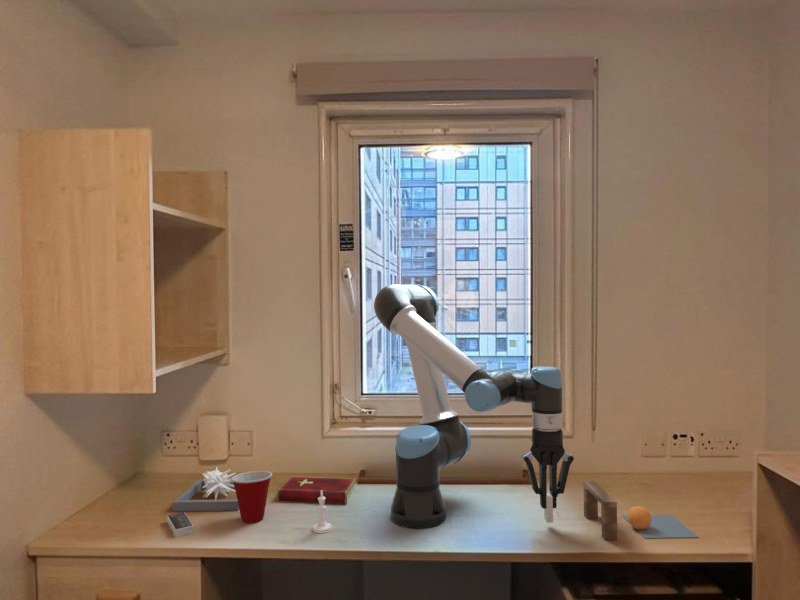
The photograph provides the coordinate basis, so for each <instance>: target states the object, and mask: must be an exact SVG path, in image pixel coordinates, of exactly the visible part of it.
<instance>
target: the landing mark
mask: <svg viewBox="0 0 800 600" xmlns="http://www.w3.org/2000/svg"><path fill="white" fill-rule="evenodd" d="M650 515H651V524H650V526H649V527H648V528H646V529H643V530H640V529H636V528H634V530H636V531H637V532H638V533H639V535H641V536H642V537H643V538H644V539H694V538H695V539H699V538H700V537H699V536H698V535H697V534H696V533H695V532H694V531H692V530H691V529H690V528H689V527H687V526H686V525H685V524H683V523H682V522H681V521H680V520H678V519H677V518H676V517H675V516H673V515H672V514H650ZM622 518H624V519H625V520H626V521H627V522H628V523H629V521H628V514H626V515H622Z"/></svg>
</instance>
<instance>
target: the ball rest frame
mask: <svg viewBox="0 0 800 600" xmlns="http://www.w3.org/2000/svg"><path fill="white" fill-rule="evenodd" d="M229 479H230V478H228V480H229ZM229 483H230V484H232V485H234V483H233V482H229ZM203 486H205V483H204V480H203V479H197V480H196V481H195V482H194V483H193V484H192V485H191V486H189V487H188V489H186V490H185V491H184V492H183V493H182V494H181V495H180V496H178V497H177V498H176V499H175V500H174V501H172V512H199V511H200V512H205V511H206V512H211V511H212V512H213V511H214V512H215V511H218V512H220V511H221V512H222V511H240V510H239V506H238V501H237V496H236V497H235V498H234V499H216V500H215V499H193V498H194V497H195V496H196V495H197V494H198V493H199V492H200V491H201V490H205V489H206V487H205V488H202V487H203ZM227 487H229V488H231V489H233V490H235V487H231V486H227ZM193 496H194V497H193ZM192 497H193V498H192ZM191 498H192V499H191ZM190 499H191V500H190Z"/></svg>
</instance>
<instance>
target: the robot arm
mask: <svg viewBox="0 0 800 600" xmlns="http://www.w3.org/2000/svg"><path fill="white" fill-rule="evenodd" d="M439 307H440V306H439V299H438V296H437V295H436V293H435V292H434V291H433V290H432V289H431V288H429V287H428V286H426V285H425V286H424V285H421V284H417V283H416V284H415V283H413V284H399V283H398V284H397V283H394V284H393V283H392V284H388V285H386V286H384V287H383V288H381V289H380V290H379V291H378V293H377V294H376V295H375V297H374V302H373V310H374V313H375V317H376V318H377V319H378V321H379V322H380V324H381V325H383V327H384V328H385V329H387V330H388V332H390V333H391V334H392V335H395V336H396V335H399V336H400V337H401V338H402V339H404V340H405V343H406V346H407V349H408V355H409V359H410V363H411V369H412V373H413V377H414V381H415V385H416V390H417V394H418V399H419V402H420V403H419V404H420V408H421V411H422V412H421V413H422V418H420V419H421V420H420V421H419V424H417V425H414V426H413V425H412V426H408V427H405V428H402V429H401V430H400V431H399V432H398V434H397V435H396V438H395V446H394V447H395V464H396V465H395V468H396V469H395V471H396V488H395V492H394V496H393V498H392V503H391V505H390V519H391V521H392V522H393V523H395V524H397V525H398V526H400V527H406V528H412V529H423V528H432V527H436V526H438V525H440V524H442V523H444V522H445V521H446V519H447V507H446V504H445V503H446V502H445V500H444V497H443V493H442V492H441V488H440V470H442V469H444V468H447V467H449V466H451V465H453V464H454V465H455V464H456V463H458V462H460V461H461V460H462V459H464V458H465V457H466V455H468V453H469V451H470V449H471V445H472V437H471V436H472V435H471V432H470V430H469V428H468V427H467V425H465V424H464V422H462V421H461V420H460V417H459V414H458V413H457V412H456V411H455V410H453V409H452V405H451V403H450V397H449V393H448V388H447V385H446V381H445V377H446V378H447V379H448V380H450V381H451V382H452V383H453V384H454V385H455V386H456V387H457V388H458V389H460V391H462V392H463V393H464V398H465V401H466V404H467V405H468V407H469V408H470V409H472V410H473V411H475V412H479V413H482V412H488V411H489V412H490V411H492V410H494V409H496V408H498V407H500V406H504V405H506V404H510V403H511V402H512V403H513V402H515V403H516V402H517V403H526V404H529V403H530V404H531V426H532V429H531V447H530V450H529V452H528V453H527V452H526V454H525V453H523V454H522V455H521V458H522V459H523V461H524V463H525V465H526V469H527V472H528V476H529V481H530V484H531V488H532V490H533V492H534V493H535V494H536V495H539V500H540V501H539V505H540V506H541V509H543V515H544V516H543V519H544V520H545V522H546V523H547V524H548V523H549V524H550V523H551V524H552V523H554V509H557V503H558V502H557V497H558V496H559V494H561V495H562V494H564V493H565V489H566V485H567V482H568V481H567V480H568V475H569V471H570V466H571V465H572V463H573V462H574V460H575V458H574V456H573V455H572V454H571V453H567V452H566V449H565V448H564V446H563V445H564V444H563V443H564V438H563V432H564V431H563V430H562V428H563V382H562V381H563V380H562V372H561V370H560V369H559V368H558V367H555V366H534V367H532V368H531V370H530V373H519V372H508V371H505V370H504V371H503V370H502V371H492V372H490V373H487V372H486V371H485V370H484V369H482V367H480V366H479V365H478V364H477V363H476V362H475V361H473V360H472V359H471V358H470V357H468V356H467V355H466V354H465V353H464V352H462V351H461V349H460V348H458V347H456V346H455V344H453V343H452V342H451V341H450V340H448V339H447V338H446V337H445V335H443V334H441V333H440V332H439V331H438V330H437V329H435V328H436V326H437V321H436V316H437V315H438V312H439ZM533 459H535V461H537V463H538V467H539V468H538V469H539V471H538V472H539V474H538V475H539V476H538V477H539V478H538V480H539V484H538V481H537V476H536V473H535V468H534V464H533V461H534V460H533ZM560 460H562V462H561V466H560V470H559V474H558V471H557V469H558V464H559V462H560ZM547 470H548V471H549V472H548V473H549V474H547ZM557 474H558V477H557ZM547 475H549V477H548V480H547ZM547 481H549V492H548V490H547V485H548V484H547Z"/></svg>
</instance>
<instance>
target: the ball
mask: <svg viewBox="0 0 800 600" xmlns="http://www.w3.org/2000/svg"><path fill="white" fill-rule="evenodd" d="M627 515H628V521H629V522H628V521H627V522H628V523H629V524H630V525H631V526H632V527H633V528H634V529H635V528H636V529H640V530H643V529H646V528H648V527H649V526H650V524H651V515H652V514H651V513H650V512H649V510H648V509H647V508H645V507H643V506H639V505H636V506H633V507H631V508H630V509H629V510H628V513H627ZM636 529H635V530H636Z"/></svg>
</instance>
